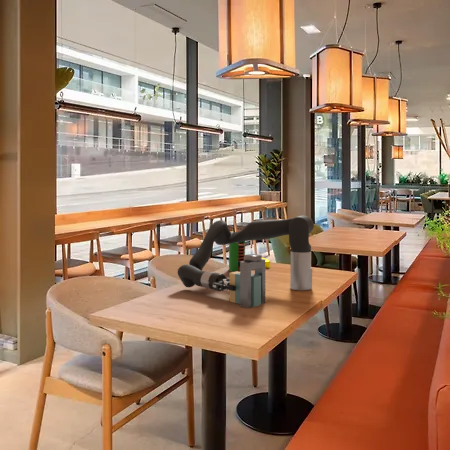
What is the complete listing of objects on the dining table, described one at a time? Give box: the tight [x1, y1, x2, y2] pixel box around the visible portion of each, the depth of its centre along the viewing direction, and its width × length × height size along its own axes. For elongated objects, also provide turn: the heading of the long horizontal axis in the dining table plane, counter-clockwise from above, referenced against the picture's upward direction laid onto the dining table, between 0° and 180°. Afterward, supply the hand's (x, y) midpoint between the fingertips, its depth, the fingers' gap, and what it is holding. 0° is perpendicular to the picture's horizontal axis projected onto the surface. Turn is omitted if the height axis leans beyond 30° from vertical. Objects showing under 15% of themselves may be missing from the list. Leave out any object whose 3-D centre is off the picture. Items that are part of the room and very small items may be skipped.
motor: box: [228, 241, 246, 272], centre depth 274 cm, size 10×9×20 cm
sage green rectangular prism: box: [229, 271, 262, 308], centre depth 205 cm, size 13×4×12 cm, turn 47°
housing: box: [239, 253, 266, 309], centre depth 202 cm, size 7×11×20 cm, turn 137°
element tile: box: [262, 257, 271, 269], centre depth 285 cm, size 15×15×5 cm
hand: (242, 286), depth 206 cm, fingers open, 8 cm apart
